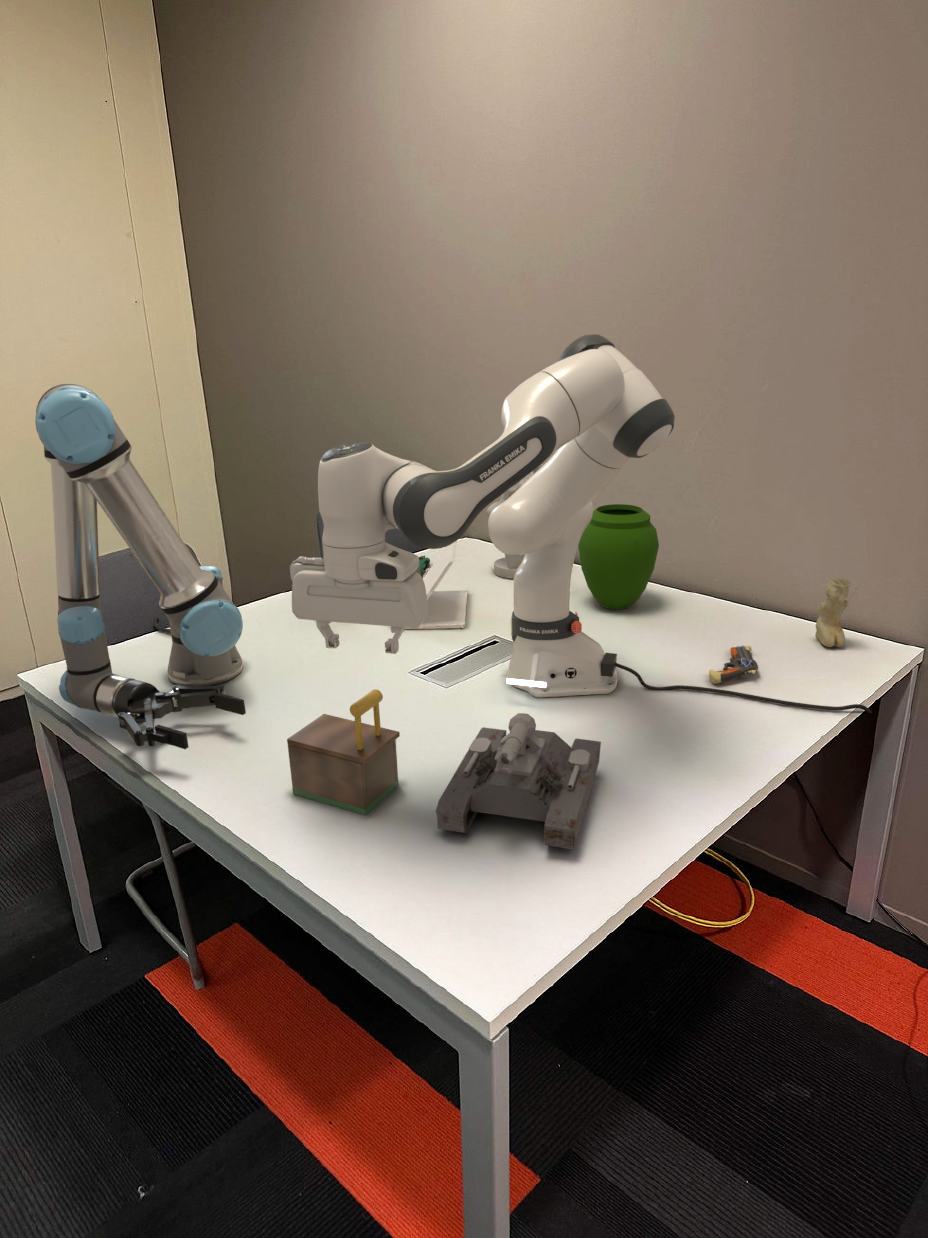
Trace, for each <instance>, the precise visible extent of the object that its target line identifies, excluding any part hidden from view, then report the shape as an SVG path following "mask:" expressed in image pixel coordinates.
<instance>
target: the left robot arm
mask: <svg viewBox="0 0 928 1238" xmlns="http://www.w3.org/2000/svg"><path fill="white" fill-rule="evenodd" d="M34 422H35V429H36V433H37V434H38V438H39V440H40V442H41V443H42V445H43V455H44V459H45V460H46V461H47V462H48V463H49V464H50V472H51V474H50V475H51V487H52V488H51V491H52V511H53V512H52V513H53V528H54V529H53V531H54V532H53V533H54V547H55V548H54V549H55V550H54V551H55V567H56V589H57V603H58V604H57V605H58V608H57V609H58V610H57V619H56V621H57V630H58V636H59V639H60V643H61V647H62V652H63V656H64V660H65V664H66V670H65V671H64V672H63V674H62V675H61V677H60V682H59V685H58V691H59V694H60V696H61V698H62V700H64V701H65V702H67V703H68V704H71V705H73V706H75V707H77V708H78V709H83V710H89V711H92V712H93V711H94V712H98V713H100V714H103V715H107V716H109V717H114V718H117V720H118V723H119V728H121V729H123V730H124V731H126V732H127V733H128V735H129V736H130V738H131V739H132V741H133V742H134V744H135V745H136V746H137V747H142V746H144V745H145V743H146V742H147V744H148V746H149V747H154V746H156V745H157V743H159V744H163V745H170V746H173V747H177V748H179V749H183V750H187V749H189V747H190V746H189V741H188V733H187V732H185V731H182V730H178V729H175V728H172V727H168V726H164V725H162V724H157V725H156V724H155V720H158V719H161V718H163V717H165V716H167V715H168V714H172V713H180V712H182V711H183V710H185V709H195V708H202V707H203V708H204V707H211V706H215V709H218V710H222V711H226V712H229V713H233V714H236V715H241V716H244V715H246V714H247V711H246V705H245V699H242V698H239V697H235V696H233V695H229V694H226V690H225V689H226V688H225V686H224V685H218V684H221V683H224V682H227V681H229V680H232V679H234V678H235V677H238V675H239V674H240V673H242V671H243V668H244V667H243V659H242V657H241V655H240V652H239V651H238V648H237V646H236V644H237V643H238V641H239V640H240V638H241V636H242V633H243V629H244V628H243V627H244V621H243V617H242V616H243V615H242V613H241V611H240V609H239V608H238V607H237V606H236V605H235V604H234V602H233V601H232V599H231V597H230V596H229V594H228V593H227V592H226V590H225V589H224V584H223V583H224V582H223V580H224V576H222V575H223V574H222V571H221V569H220V568H219V567H217V566H214V565H199V564H198V562H197V560H196V559H195V557H194V556H193V554H192V553H191V551H190V550H189V548H188V547H187V545H186V543H185V542H184V541H183V539H182V538H181V536H180V534H179V533H178V531H177V530H176V528H175V527H174V525H173V524H172V522H171V521H170V519H169V518H168V516H167V515H166V513H165V511H164V510H163V508H162V507H161V505H160V504H159V502H158V501H157V499H156V498H155V496H154V494H153V492H152V491H151V490H150V488H149V487H148V485H147V484H146V482H145V481H144V479H143V477H142V476H141V475H140V473H139V472H138V470H137V468H136V467H135V465H134V463H133V462H132V461H131V458H130V457H131V452H132V448H133V446H132V444H131V443H130V442H129V440H128V438H127V437H126V435H125V434H124V432H123V430H122V429H121V428H120V426H119V424H118V423H117V421H116V420H115V417H114V415H113V413H112V411H111V409H110V408H109V406H108V405H107V404H106V403H105V401H104V400H103V399H102V398H100V397H99V396H98V394H96V393H95V392H94V391H93V390H91V389H90V388H88V387H86V386H83V385H80V384H77V383H69V382H68V383H61V384H57V385H54V386H52V387H50V388H49V389H47V390H46V391H45V392H44V393H43V394H42V395H41V397H40V398H39V400H38V402H37V405H36V409H35V421H34ZM98 505H99V506H100V508H101V509H102V510H103V512H104V513H105V515H106V516H107V518H108V520H109V521H110V522H111V523H112V525H113V526H114V528H115V529H116V531H117V532H118V534H119V535H120V536H121V538H122V540H123V541H124V542H125V544H126V545H127V547H128V548H129V550H130V551H131V552H132V554H133V555H134V557H135V558H136V560H137V561H138V562H139V564H140V566H141V567H142V569H143V571H145V573H146V574H147V576H148V577H149V578H150V580H151V582H152V583H153V584H154V586H155V587H156V589H157V591H158V592H159V593H160V596H159V599H158V606H159V607H160V609H161V610H162V612H163V613H164V615H165V616H166V617H167V620H168V624H169V628H167V627H163V626H161V625H159V624H158V621H159V617H158V616H157V615H155V616H154V617H153V619H152V625H153V628H154V629H155V630H157V631H159V632H163V633H167V634H170V636H171V649H170V653H169V654H170V655H169V659H168V663H167V664H168V665H167V675H168V676H167V677H168V680H169V681H170V682H171V683H173V684H174V685H172V691H160V690H159V689H158V688H157V687H156V686H155V685H154V684H152V683H149V682H146V681H142V680H140V679H139V680H137V679H136V678H131V677H127V676H123V675H119V674H116V673H113V668H112V663H111V658H110V652H109V649H108V648H109V647H108V640H107V635H106V630H105V628H106V626H105V622H104V619H103V616H102V610H101V609H102V607H101V606H102V605H101V589H100V587H101V586H100V584H101V583H100V557H99V553H100V552H99V526H98V523H99V521H98V520H99V519H98ZM174 700H176V706H175V701H174ZM140 724H145V730H143V729H141V727H140V726H139V725H140Z"/></svg>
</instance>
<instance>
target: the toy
mask: <svg viewBox="0 0 928 1238" xmlns="http://www.w3.org/2000/svg"><path fill="white" fill-rule="evenodd" d="M536 728H537V724H536V720H535V718H534V717H533V716H531V714H529V713H523V712H517V713H516V714H515V715H514V716H512V717H511V718H510V719H509V721H508V731H509V733H507V729H499V728H492V727H483V726H482V727H481V728H480V729H479V731H478V733H477V735H476V736H475V738H474V739H473V740H472V742H471V743H470V744H469V747H468V750H467V752H466V753H465V755H464V757H463V758H462V760H461V761H460V764H459V765H458V767H457V768H456V770H455V772H454V773H453V775H452V777H451V778H450V781H449V782H448V784H447V786H446V787H445V789H444V791H443V792H442V794H441V796H440V798H439V799H438V802H437V805H436V807H435V808H436V809H435V814H436V823H437V824H436V825H437V829H438V830H441V831H449V832H457V833H462V834H468V832H469V831H470V829H471V827H472V824H473V823H474V821H475V819H476V817H477V815H478V813H481V814H482V813H483V814H489V815H494V816H495V815H496V816H501V817H502V816H503V817H509V818H515V819H516V818H518V819H524V820H530V821H537V822H544V825H543V826H544V830H543V832H544V833H543V834H544V836H543V838H544V840H543V842H544V843H543V844H544V846H550V847H556V848H562V849H567V850H573V849H574V847H575V844H576V842H577V839H578V835H579V833H580V832H579V831H580V829H581V825H582V822H583V818H584V815H585V812H586V808H587V804H588V801H589V798H590V795H591V791H592V788H593V784H594V781H595V778H596V774H597V771H598V768H599V764H600V759H601V758H600V756H601V746H602V741H601V740H593V739H592V740H591V739H586V738H585V739H583V738H576V737H575V738H574V740H573V743H572V745H569V744H568V743H567V742H566V741H565V740H564V739H562V738H561V737H560V736H559V735H558V734H557V733H556V732H555V731H549V730H539V729H536Z"/></svg>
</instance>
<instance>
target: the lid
mask: <svg viewBox="0 0 928 1238" xmlns="http://www.w3.org/2000/svg"><path fill="white" fill-rule="evenodd" d="M383 698H384V695H383V693H382V692H381V691H380V690H379V689H377V688H376V689H375V688H374V689H372V690H371V691H370V692H368V693H367V694H365V695H364V696H362V697H361V698H359V699H358V700H356V701H355V702H353V703H352V704H351V705H350V706H349V712H350V714H351V716H352V717H353V718H354V720H352V719H348V718H343V717H339V716H334V715H332V714H331V715H330V714H327V713H323V714H321V715H320V716H318V717H317V718H315V719H314V720H313V721H312V722H310V723H308V724H307V725H306V726H304V727H302V728H301V729H299V730H298V731H297V732H295V733H294V734H292V735H291V736H289V737H288V738H287V739H286V743H287V745H288V744H290V745H294V746H298V747H302V748H306V749H309V750H313V751H317V752H321V753H325V754H328V755H332V756H336V757H340V758H344V759H347V760H351V761H355V762H359V763H363V764H367V763H368V762H369V761H370V760H371V759H373V758H374V757H375V756H376V755H378V754H379V753H380V752H381V751H382V750H384V749H385V748H386V747H387V746H388V745H390V744H391V743H392V742H393V741H394V740H396V741H397V739H399V737H401V735H400V734H401V733H400V731H399V730H394V729H389V728H385V727H382V726H381V715H380V703H381V702H382V701H383ZM370 710H373V725H372V724H370V723H365V722H362V716H363V715H364V714H366V713H367V712H369V711H370Z"/></svg>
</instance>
